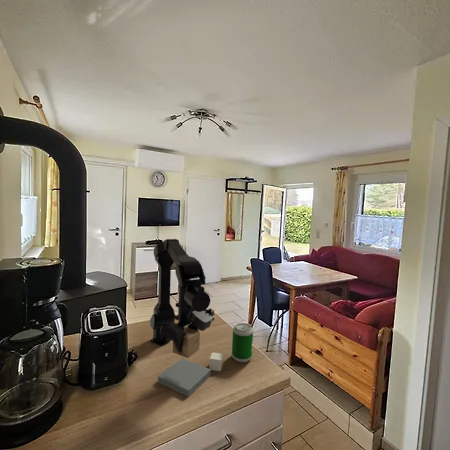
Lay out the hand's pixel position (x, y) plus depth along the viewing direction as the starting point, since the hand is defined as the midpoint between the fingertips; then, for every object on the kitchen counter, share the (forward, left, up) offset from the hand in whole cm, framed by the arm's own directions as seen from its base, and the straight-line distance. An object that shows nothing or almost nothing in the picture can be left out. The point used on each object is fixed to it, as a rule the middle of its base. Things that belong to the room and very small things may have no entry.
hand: (186, 347), depth 86 cm
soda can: (+10, +21, -10) cm, 25 cm away
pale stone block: (+5, +11, -10) cm, 16 cm away
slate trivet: (0, 0, -10) cm, 10 cm away
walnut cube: (0, 0, -1) cm, 1 cm away
